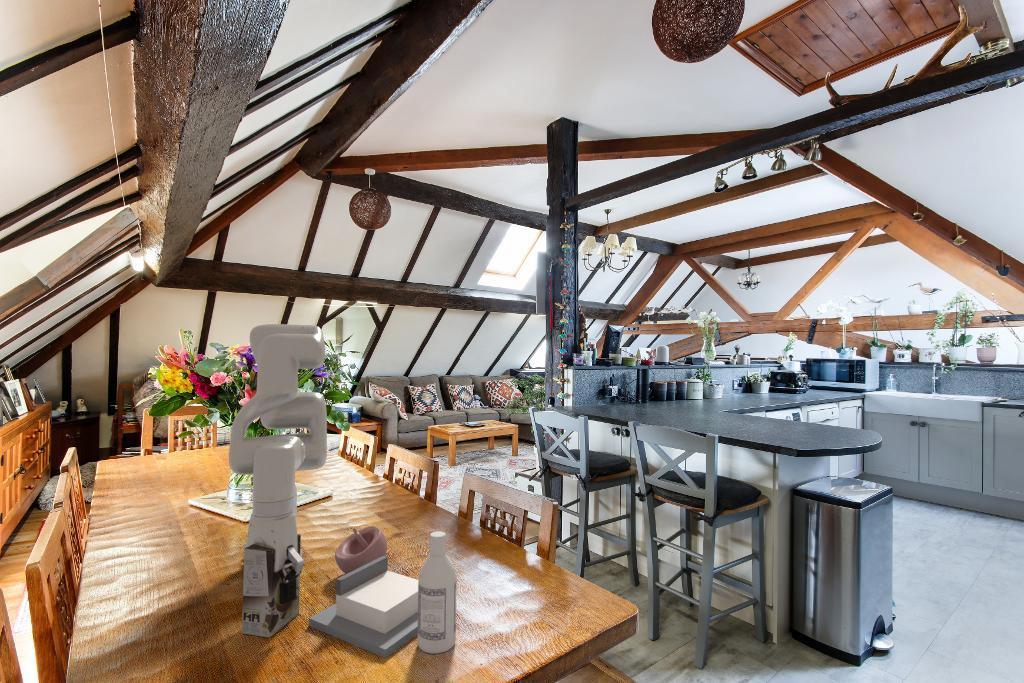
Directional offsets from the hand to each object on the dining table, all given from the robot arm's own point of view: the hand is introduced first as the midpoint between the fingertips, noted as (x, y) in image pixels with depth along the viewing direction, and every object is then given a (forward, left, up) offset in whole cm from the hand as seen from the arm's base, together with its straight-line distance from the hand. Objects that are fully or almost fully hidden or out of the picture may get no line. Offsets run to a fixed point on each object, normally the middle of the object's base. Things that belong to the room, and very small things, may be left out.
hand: (272, 595), depth 98 cm
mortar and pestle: (-1, +24, -6) cm, 25 cm away
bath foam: (+32, +11, -6) cm, 34 cm away
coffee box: (0, 0, -6) cm, 6 cm away
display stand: (+17, +13, -5) cm, 22 cm away
